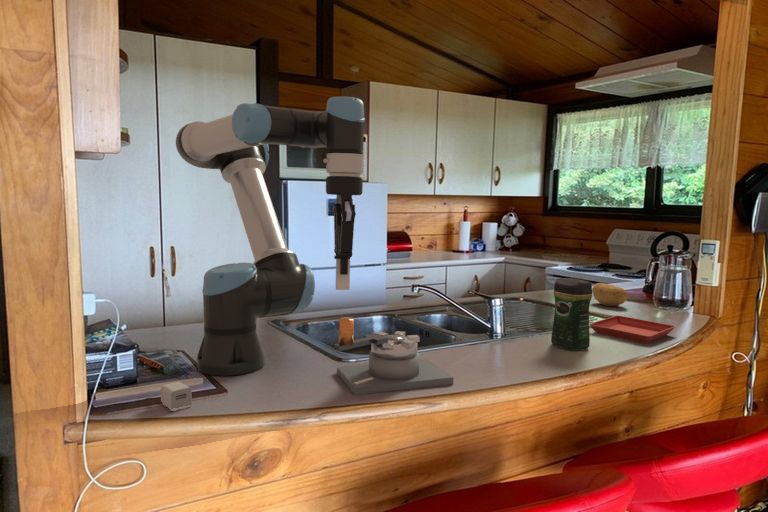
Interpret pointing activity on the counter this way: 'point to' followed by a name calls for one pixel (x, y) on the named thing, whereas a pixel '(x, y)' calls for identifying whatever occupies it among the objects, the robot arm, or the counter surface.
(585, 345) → the coffee jar
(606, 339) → the counter surface
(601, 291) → the potato
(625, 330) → the plant saucer
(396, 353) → the bar with orange knob
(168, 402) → the usb wall charger
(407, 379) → the base plate
